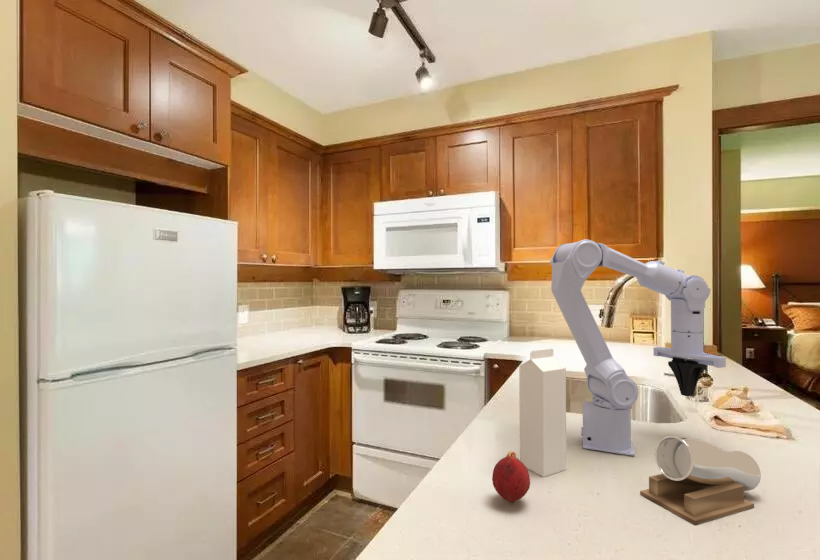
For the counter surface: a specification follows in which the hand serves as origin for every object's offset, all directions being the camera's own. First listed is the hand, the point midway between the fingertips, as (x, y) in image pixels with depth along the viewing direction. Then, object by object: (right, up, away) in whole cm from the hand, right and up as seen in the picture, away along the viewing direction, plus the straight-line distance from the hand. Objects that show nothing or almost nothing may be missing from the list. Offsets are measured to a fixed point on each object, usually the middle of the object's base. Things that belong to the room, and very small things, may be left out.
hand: (687, 395), depth 88 cm
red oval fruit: (-43, -11, -23) cm, 50 cm away
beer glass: (-4, -7, -20) cm, 21 cm away
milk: (-34, -11, -11) cm, 38 cm away
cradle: (-14, -10, -23) cm, 29 cm away
